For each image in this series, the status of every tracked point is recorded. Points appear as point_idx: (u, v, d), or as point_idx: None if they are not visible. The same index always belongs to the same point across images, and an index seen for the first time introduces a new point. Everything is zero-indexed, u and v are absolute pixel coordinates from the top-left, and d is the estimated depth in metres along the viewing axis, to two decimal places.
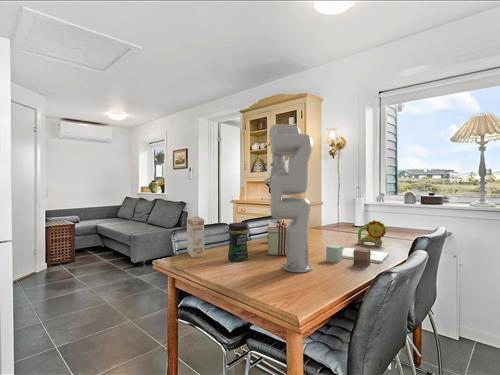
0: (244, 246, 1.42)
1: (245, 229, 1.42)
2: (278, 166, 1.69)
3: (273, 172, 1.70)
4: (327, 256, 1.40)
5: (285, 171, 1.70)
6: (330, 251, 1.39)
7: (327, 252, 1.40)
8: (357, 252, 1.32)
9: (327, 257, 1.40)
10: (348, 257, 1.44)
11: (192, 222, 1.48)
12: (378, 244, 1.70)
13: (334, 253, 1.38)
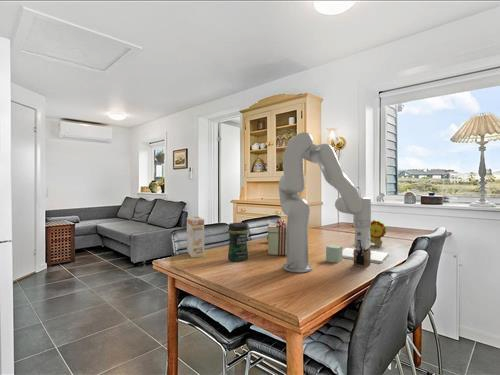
0: (244, 246, 1.42)
1: (245, 229, 1.42)
2: (369, 226, 1.31)
3: (366, 234, 1.29)
4: (327, 256, 1.40)
5: (369, 231, 1.35)
6: (330, 251, 1.39)
7: (327, 252, 1.40)
8: None
9: (327, 257, 1.40)
10: (348, 257, 1.44)
11: (192, 222, 1.48)
12: (378, 244, 1.70)
13: (334, 253, 1.38)
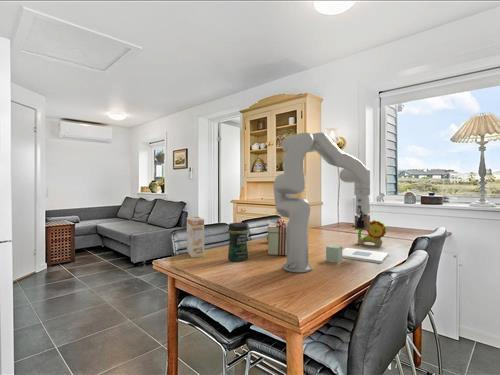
0: (244, 246, 1.42)
1: (245, 229, 1.42)
2: (369, 193, 1.46)
3: (365, 201, 1.44)
4: (327, 256, 1.40)
5: None
6: (330, 251, 1.39)
7: (327, 252, 1.40)
8: None
9: (327, 257, 1.40)
10: (348, 257, 1.44)
11: (192, 222, 1.48)
12: (378, 244, 1.70)
13: (334, 253, 1.38)
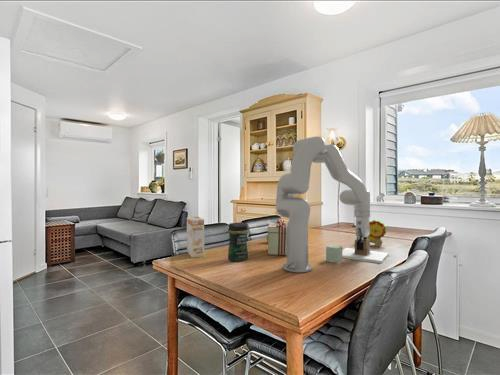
0: (244, 246, 1.42)
1: (245, 229, 1.42)
2: (369, 216, 1.46)
3: (365, 223, 1.44)
4: (327, 256, 1.40)
5: None
6: (330, 251, 1.39)
7: (327, 252, 1.40)
8: None
9: (327, 257, 1.40)
10: (348, 257, 1.44)
11: (192, 222, 1.48)
12: (378, 244, 1.70)
13: (334, 253, 1.38)
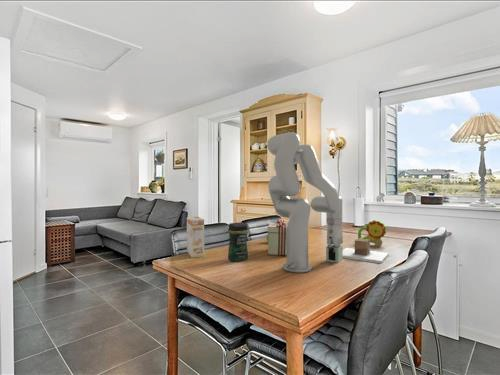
0: (244, 246, 1.42)
1: (245, 229, 1.42)
2: (341, 224, 1.38)
3: (337, 231, 1.37)
4: (327, 256, 1.40)
5: (341, 228, 1.42)
6: None
7: (327, 252, 1.40)
8: (358, 242, 1.47)
9: (327, 257, 1.40)
10: (348, 257, 1.44)
11: (192, 222, 1.48)
12: (378, 244, 1.70)
13: None
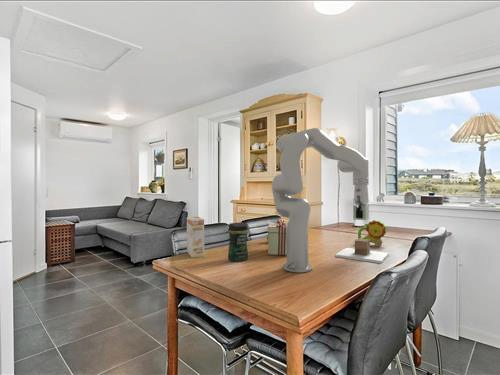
0: (244, 246, 1.42)
1: (245, 229, 1.42)
2: (367, 183, 1.45)
3: (364, 190, 1.44)
4: (354, 214, 1.47)
5: (367, 189, 1.49)
6: None
7: (354, 211, 1.47)
8: (358, 242, 1.47)
9: (354, 215, 1.47)
10: (348, 257, 1.44)
11: (192, 222, 1.48)
12: (378, 244, 1.70)
13: None
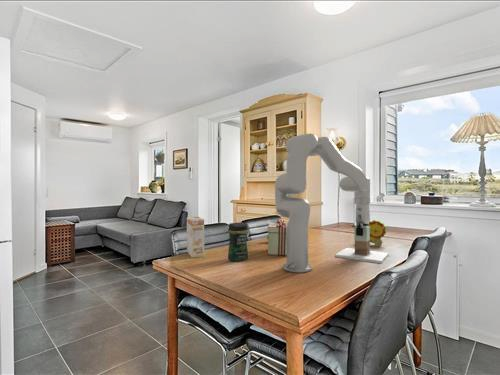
0: (244, 246, 1.42)
1: (245, 229, 1.42)
2: (369, 202, 1.46)
3: (365, 210, 1.44)
4: (355, 235, 1.48)
5: None
6: None
7: (355, 232, 1.48)
8: (358, 242, 1.47)
9: (355, 236, 1.48)
10: (348, 257, 1.44)
11: (192, 222, 1.48)
12: (378, 244, 1.70)
13: (363, 232, 1.46)
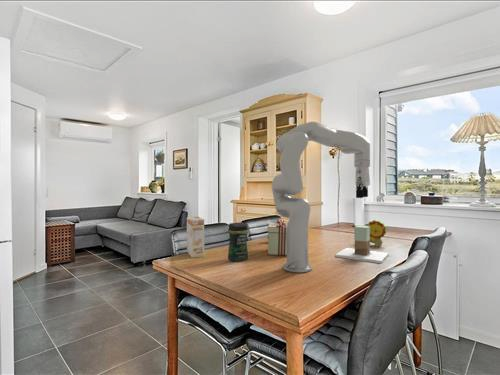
0: (244, 246, 1.42)
1: (245, 229, 1.42)
2: (369, 165, 1.45)
3: (365, 171, 1.44)
4: (355, 235, 1.48)
5: None
6: (358, 231, 1.47)
7: (355, 232, 1.48)
8: (358, 242, 1.47)
9: (355, 236, 1.48)
10: (348, 257, 1.44)
11: (192, 222, 1.48)
12: (378, 244, 1.70)
13: (363, 232, 1.46)
